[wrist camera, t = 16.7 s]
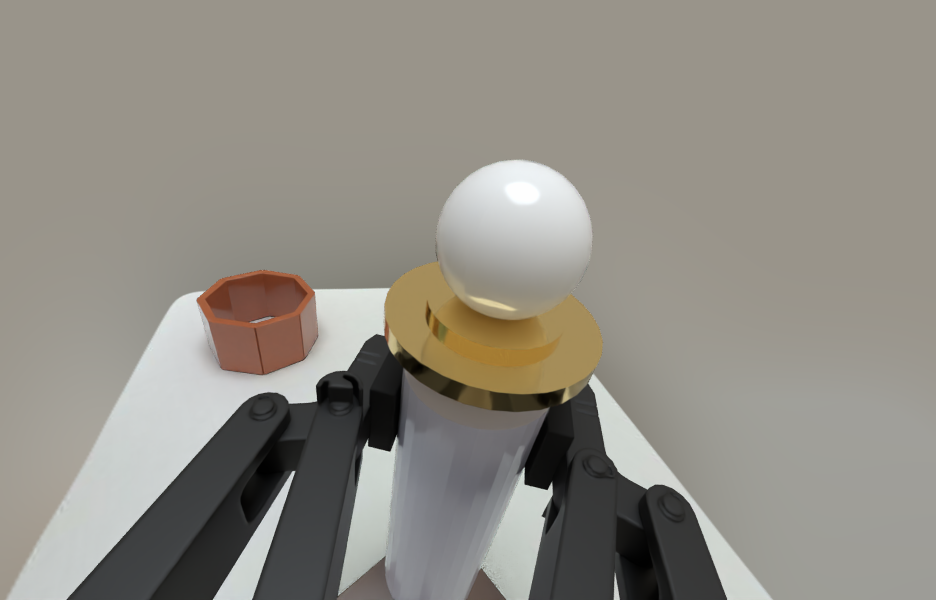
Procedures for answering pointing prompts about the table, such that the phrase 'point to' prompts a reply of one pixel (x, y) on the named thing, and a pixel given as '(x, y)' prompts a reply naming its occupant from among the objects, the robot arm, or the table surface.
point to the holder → (263, 341)
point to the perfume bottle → (482, 366)
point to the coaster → (373, 596)
